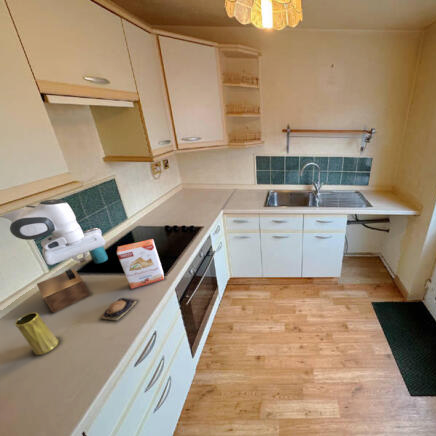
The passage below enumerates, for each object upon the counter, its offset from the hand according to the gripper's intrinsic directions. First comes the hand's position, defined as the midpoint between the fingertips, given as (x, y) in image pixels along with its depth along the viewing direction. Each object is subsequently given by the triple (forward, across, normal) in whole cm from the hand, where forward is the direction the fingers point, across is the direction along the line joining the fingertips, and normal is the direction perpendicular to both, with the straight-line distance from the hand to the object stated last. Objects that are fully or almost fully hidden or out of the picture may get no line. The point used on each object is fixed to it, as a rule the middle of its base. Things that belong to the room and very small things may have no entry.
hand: (83, 262), depth 103 cm
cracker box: (+14, -17, +18) cm, 28 cm away
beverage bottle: (+14, -8, -19) cm, 25 cm away
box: (+14, +10, 0) cm, 17 cm away
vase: (+14, +21, +25) cm, 35 cm away
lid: (+5, +10, 0) cm, 11 cm away
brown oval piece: (+14, -1, +27) cm, 30 cm away
